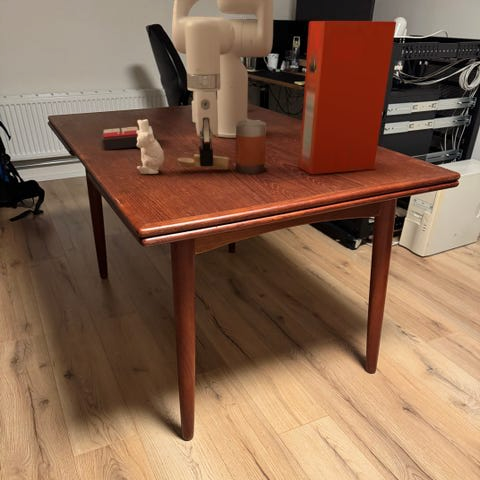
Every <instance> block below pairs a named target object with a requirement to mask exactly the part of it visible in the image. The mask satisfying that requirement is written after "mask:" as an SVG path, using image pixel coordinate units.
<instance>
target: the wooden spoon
mask: <svg viewBox="0 0 480 480" xmlns="http://www.w3.org/2000/svg"><path fill="white" fill-rule="evenodd" d="M229 162H230V158H229V156H220V155H213V166H200V154H198V153H194V154H193V158H191V157H178V158H177V166H179V167H182V168H206V169H207V168H208V169H217V170H220V169H221V170H229V164H230V163H229Z"/></svg>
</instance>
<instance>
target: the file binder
mask: <svg viewBox="0 0 480 480" xmlns="http://www.w3.org/2000/svg"><path fill="white" fill-rule="evenodd" d="M396 26H397V21H391V20H389V21H388V20H384V21H383V20H380V21H379V20H359V21H358V20H316V21H315V20H311V21H309V22H308V34H307V47H306V48H307V49H306V63H305V64H306V65H305V76H304V77H305V78H304V91H303V92H304V93H303V107H302V121H301V135H300V136H301V137H300V149H299V150H300V151H299V166H298V167H299V169H301V170H303V171H305V172H306V173H308V174H309V175H311V176H312V175H323V174H334V173H343V172H344V173H346V172H355V171H366V170H374V169H375V164H376V157H377V153H378V144H379V138H380V132H381V126H382V118H383V111H384V105H385V98H386V92H387V85H388V80H389V72H390V67H391V59H392V53H393V47H394V39H395V33H396Z"/></svg>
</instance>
